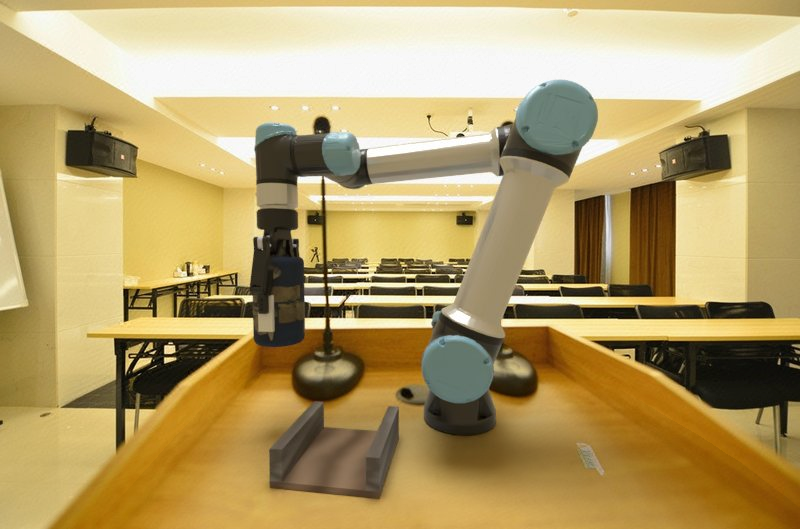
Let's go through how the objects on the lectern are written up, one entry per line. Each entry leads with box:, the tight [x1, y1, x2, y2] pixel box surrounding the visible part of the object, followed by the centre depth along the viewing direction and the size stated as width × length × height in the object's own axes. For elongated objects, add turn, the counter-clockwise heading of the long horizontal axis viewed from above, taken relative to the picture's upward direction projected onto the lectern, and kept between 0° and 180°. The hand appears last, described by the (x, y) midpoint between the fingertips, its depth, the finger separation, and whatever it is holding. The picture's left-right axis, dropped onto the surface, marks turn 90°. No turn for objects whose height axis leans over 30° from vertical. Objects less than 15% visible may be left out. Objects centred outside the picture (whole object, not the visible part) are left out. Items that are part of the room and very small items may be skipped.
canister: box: [252, 256, 306, 348], centre depth 73 cm, size 10×10×18 cm
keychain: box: [575, 442, 605, 476], centre depth 66 cm, size 10×1×3 cm
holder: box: [268, 400, 400, 499], centre depth 65 cm, size 17×18×6 cm
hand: (279, 325), depth 73 cm, fingers closed on canister, 9 cm apart
